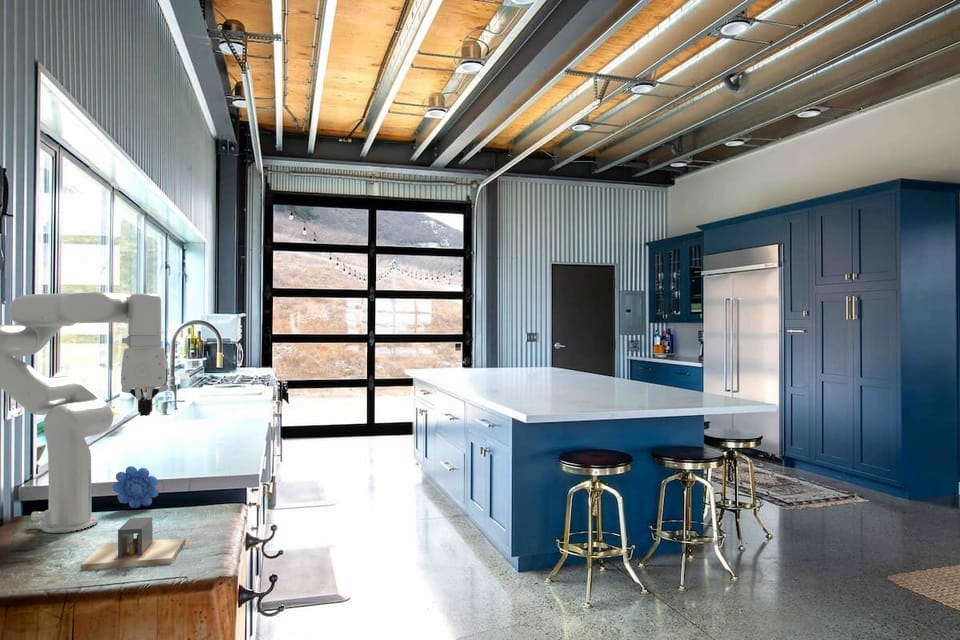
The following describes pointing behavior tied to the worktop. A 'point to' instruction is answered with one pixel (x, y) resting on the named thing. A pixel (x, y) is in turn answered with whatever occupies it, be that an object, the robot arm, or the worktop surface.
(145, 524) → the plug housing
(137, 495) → the blue flower
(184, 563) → the worktop surface
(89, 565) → the pin board
